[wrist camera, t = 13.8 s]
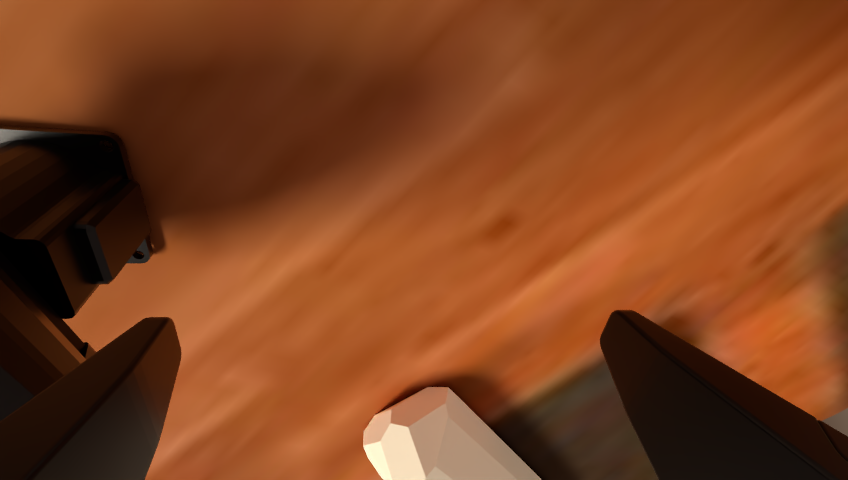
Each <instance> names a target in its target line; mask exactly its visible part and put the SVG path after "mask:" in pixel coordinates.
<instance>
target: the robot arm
mask: <svg viewBox="0 0 848 480" xmlns="http://www.w3.org/2000/svg"><path fill="white" fill-rule="evenodd" d="M104 141H108V142H109V143H111V144H112V146H113V149H110V148H108V147H106V146H105V144H104ZM150 232H151V227H150V223H149V219H148V215H147V212H146V208H145V204H144V200H143V197H142V193H141V189H140V185H139V184H138V183H137V182H136V181H135V180H134V179H133V176H132V172H131V169H130V165H129V161H128V157H127V154H126V150H125V146H124V143H123V141H122V139H121V138H120V137H119V136H117V135H115V134H114V133H110V132H102V131H85V130H68V129H51V128H34V127H17V126H0V480H145V477H146V475H147V472H148V469H149V467H150V464H151V462H152V459H153V457H154V454H155V451H156V448H157V446H158V443H159V440H160V436H161V433H162V429H163V426H164V422H165V418H166V414H167V411H168V407H169V403H170V399H171V395H172V391H173V388H174V384H175V380H176V376H177V372H178V369H179V365H180V361H181V347H180V343H179V340H178V336H177V332H176V329H175V325H174V322H173V320H172V319H171V318H168V317H149V318H145V319H143V320H141V321H140V322H138V323H137V324H136V325H134V326H133V327H131V328H130V329H129V330H127V331H126V332H124V333H123V334H122V335H120V336H119V337H117V338H116V339H115V340H113V341H112V342H110V343H109V344H108V345H106V346H105V347H103V348H102V349H101V350H99V351H98V352H96V351H95V350H94V349H93V348H92V347H91V346H90V345H89V344H88V343H87V342H85V343H83V342H82V341H81V340H80V338H79V337H78V336H77V335H76V334H75V333H74V332H73V331H72V330H71V329H70V327H69V326H68V325H67V324H66V323H65V322H64V321H63V320H62V319H69V318H73V317H74V316H75V315H76V313H77V312H78V311H79V310H80V308H81V307H82V306H83V305H84V303H85V302H86V301H87V300H88V298H89V297H90V296H91V295H92V293H93V292H94V291H95V290H96V288H97V287H98V286H99V285H100V284H109V283H110V282H111V281H112V280H113V279H114V278H115V277H116V276H117V275H118V273H119V272H120V271H121V269H122V268H123V267H124V265H125V264H126V263H145V262H147V261H148V260H149V259H150V257H151V256H152V254H153V249H152V246H151V242H150V238H149V235H148V234H149V233H150ZM137 251H141V252H142V253H143V254H144V255H142V254H139V253H137ZM600 345H601V349H602V352H603V354H604V357H605V360H606V362H607V365H608V367H609V370H610V373H611V375H612V378H613V381H614V383H615V386H616V389H617V391H618V394H619V397H620V399H621V402H622V404H623V406H624V409H625V411H626V413H627V416H628V418H629V420H630V422H631V424H632V426H633V428H634V430H635V432H636V434H637V436H638V438H639V440H640V442H641V444H642V446H643V448H644V450H645V452H646V454H647V456H648V458H649V460H650V462H651V465H652V467H653V469H654V471H655V473H656V475H657V477H658V479H659V480H848V437H847V436H846V435H844V434H842V433H841V432H839V431H837V430H835V429H834V428H832V427H830V426H829V425H827V424H825V423H824V422H822V421H820V420H816V418H815V417H813V416H812V415H810V414H808V413H807V412H805V411H803V410H802V409H800V408H798V407H796V406H795V405H793V404H791V403H790V402H788V401H786V400H785V399H783V398H781V397H779V396H778V395H776V394H774V393H773V392H771V391H769V390H768V389H766V388H764V387H762V386H761V385H759V384H757V383H756V382H754V381H752V380H751V379H749V378H747V377H745V376H744V375H742V374H740V373H739V372H737V371H735V370H734V369H732V368H730V367H729V366H727V365H725V364H723V363H722V362H720V361H718V360H717V359H715V358H713V357H712V356H710V355H708V354H706V353H705V352H703V351H701V350H700V349H698V348H696V347H695V346H693V345H691V344H689V343H688V342H686V341H684V340H683V339H681V338H679V337H678V336H676V335H674V334H672V333H671V332H669V331H667V330H666V329H664V328H662V327H661V326H659V325H657V324H656V323H654V322H652V321H650V320H649V319H647V318H645V317H644V316H642V315H640V314H639V313H637V312H635V311H633V310H616V311H614V312H612V313H611V315H610V317H609V319H608V321H607V323H606V325H605V328H604V330H603V332H602V334H601V337H600Z"/></svg>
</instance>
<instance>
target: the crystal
mask: <svg viewBox="0 0 848 480" xmlns="http://www.w3.org/2000/svg"><path fill="white" fill-rule="evenodd" d="M363 447H364V449H365V452H366V454H367V457H368V459H369V460H370V461H371V463H372V464H373V466H374V467H375V469H376V470H377V472H378V473H379V474H380V476H381V477H382V479H383V480H542V479H541V478H540V477H539V476H538V475H537V474H536V473H535V472H534V471H533V470H532V469H531V468H530V467H529V466H528V465H527V464H526V463H525V462H524V461H522V460H521V459H520V458H519V457H518V456H517V455H516V454H515V453H514V452H513V451H512V450H511V449H510V448H509V447H508V446H507V445H506V444H505V443H504V442H503V441H502V440H501V439H500V438H499V437H498V436H497V435H496V434H495V433H494V432H493V431H492V430H491V429H490V428H489V427H488V426H487V425H486V424H485V423H484V422H483V421H482V420H481V419H480V418H479V417H478V416H477V415H476V414H475V413H474V412H473V411H472V410H471V409H470V408H469V407H468V406H467V405H466V404H465V403H464V402H463V401H462V400H461V399H460V398H459V397H458V396H457V395H456V394H455V393H454V392H453V391H452V390H451V389H450V388H449V387H427V388H425V389H423V390H421V391H419V392H417V393H415V394H414V395H412V396H410V397H408V398H406V399H404V400H402V401H400V402H399V403H397V404H395V405H393V406H391V407H389V408H387V409H385V410H384V411H382V412H380V413H378V414H376V415H374V417H373V418H372V420H371V422H370V423H369V425H368V426H367V428H366V429H365V431H364V436H363Z"/></svg>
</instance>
